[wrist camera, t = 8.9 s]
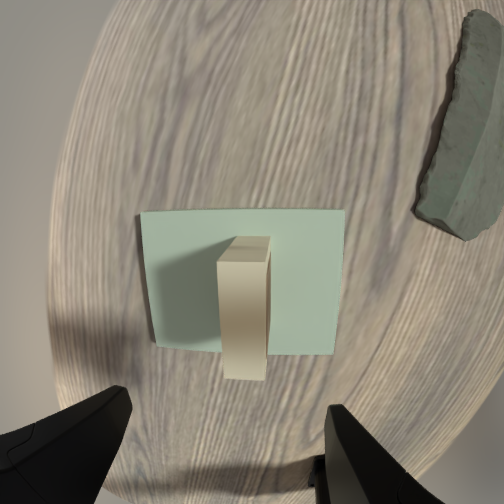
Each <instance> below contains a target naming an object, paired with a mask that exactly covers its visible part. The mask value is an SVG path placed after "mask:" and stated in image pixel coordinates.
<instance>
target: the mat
mask: <svg viewBox="0 0 504 504" xmlns="http://www.w3.org/2000/svg"><path fill="white" fill-rule="evenodd" d="M140 216H141V231H142V243H143V253H144V263H145V272H146V280H147V288H148V295H149V302H150V309H151V315H152V322H153V328H154V333H155V339H156V344H157V346H160V347H168V348H177V349H187V350H197V351H209V352H222V344H221V329H220V314H219V298H218V279H217V260H218V259H219V258H220V257H221V256H222V254H223V253H224V252H225V251H226V249H227V248H228V247H229V246H230V245H231V243H232V242H233V241H234V240H235V238H236V237H237V236H271V321H270V333H269V343H268V354H267V355H327V354H333V352H334V345H335V337H336V329H337V320H338V311H339V300H340V289H341V277H342V263H343V246H344V222H345V210H343V209H327V208H216V209H181V210H156V211H144V212H140Z"/></svg>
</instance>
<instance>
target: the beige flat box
mask: <svg viewBox="0 0 504 504" xmlns="http://www.w3.org/2000/svg"><path fill="white" fill-rule="evenodd" d="M217 279H218V298H219V314H220V329H221V344H222V357H223V370H224V378H226V379H241V380H262V381H265V374H266V364H267V354H268V343H269V333H270V321H271V236H237V237H236V238H235V240H234V241H233V242H232V243H231V245H230V246H229V247H228V248H227V249H226V251H225V252H224V253H223V254H222V256H221V257H220V258H219V259H218V260H217Z"/></svg>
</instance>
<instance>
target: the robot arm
mask: <svg viewBox="0 0 504 504" xmlns="http://www.w3.org/2000/svg"><path fill="white" fill-rule="evenodd" d="M131 413H132V402H131V399H130V396H129V393H128V390H127V389H126V388H125V387H122V386H118V385H114V386H112V387H110V388H108V389H106V390H104V391H102V392H100V393H97V394H95V395H93V396H91V397H89V398H87V399H85V400H83V401H81V402H79V403H77V404H75V405H72V406H70V407H68V408H66V409H64V410H62V411H59V412H57V413H55V414H53V415H51V416H48V417H46V418H44V419H41V420H39V421H37V422H36V423H32V424H30V425H28V426H25V427H23V428H20V429H17V430H15V431H12V432H9V433H6V434H2V435H0V504H94V502H95V500H96V498H97V496H98V493H99V491H100V489H101V487H102V484H103V482H104V480H105V478H106V476H107V473H108V471H109V469H110V467H111V465H112V463H113V460H114V458H115V456H116V454H117V452H118V450H119V447H120V445H121V442H122V440H123V436H124V433H125V430H126V427H127V424H128V421H129V418H130V416H131ZM324 432H325V456H317V457H315V458H314V462H313V466H312V469H311V473H310V477H309V481H308V486H309V487H315V496H316V504H445V503H443V502H442V501H441V500H439V499H438V498H436V497H435V496H434V495H433V494H431V493H430V492H429V491H427V490H426V489H425V488H424V487H423V486H422V485H421V484H419V483H418V482H417V481H416V480H415V479H414V478H413V477H412V476H411V475H410V474H409V473H408V472H406V470H405V469H404V468H403V467H402V466H401V465H400V464H399V463H398V462H397V461H396V460H395V459H394V458H393V457H392V456H391V455H390V454H389V453H388V452H387V451H386V450H385V449H384V448H383V447H382V446H381V445H380V444H379V443H378V442H377V440H376V439H375V438H374V437H373V436H372V435H371V434H370V433H369V432H368V431H367V430H366V429H365V428H364V427H363V426H362V425H361V424H360V423H359V422H358V420H357V419H356V418H355V417H354V416H353V415H352V414H351V413H350V412H349V411H348V410H347V409H346V408H345V407H344V406H343V405H342V404H334V405H329V406H328V410H327V414H326V419H325V426H324ZM405 472H406V473H405Z"/></svg>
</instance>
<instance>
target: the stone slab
mask: <svg viewBox="0 0 504 504" xmlns="http://www.w3.org/2000/svg"><path fill="white" fill-rule="evenodd" d="M462 25H463V38H462V50H461V53H460V58H459V62H458V63H457V65H456V69H455V88H454V90H453V93H452V101H451V102H450V104H449V106H448V109H447V113H446V115H445V118H444V124H443V127H442V130H441V137H440V141H439V145H438V149H437V151H436V153H435V154H434V155H433V158H432V162H431V165H430V167H429V169H428V171H427V173H426V175H425V176H424V178H423V182H422V184H421V185H420V193H421V197H420V200H419V202H418V204H417V206H416V209H415V214H416V215H417V216H418V217H420V218H422V219H424V220H426V221H428V222H430V223H432V224H434V225H436V226H439V227H440V228H442V229H443V230H445V231H447V232H450V233H453V234H455V235H456V236H458V237H459V238H461V239H462V240H463V241H465V242H466V241H468V240H472V239H474V238H475V237H477V236H478V234H479V233H480V232H481V231H483V230H485V229H489V228H490V226H491V225H493V224H494V223H495V222H496V221H497V219H498V217H499V215H500V212H501V210H502V207H503V205H504V26H502V25H501V23H500V22H499V21H498V20H496V19H495V18H494V17H492V16H491V15H490V14H489V13H487V12H485V11H482V10H479V9H475V10H472V11H471V12H468V16H466V17H464V22H463V24H462Z"/></svg>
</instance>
